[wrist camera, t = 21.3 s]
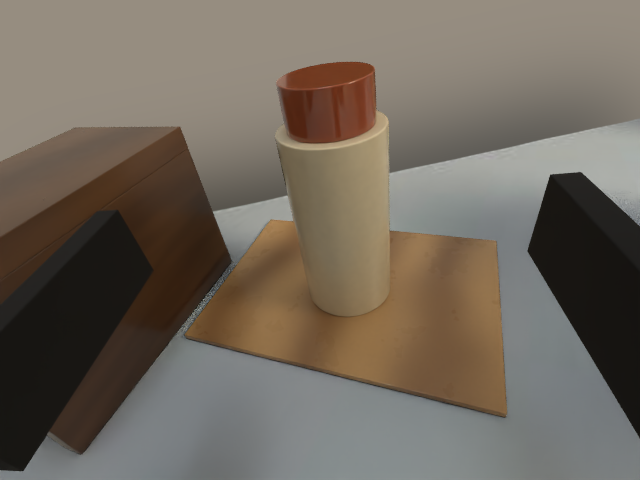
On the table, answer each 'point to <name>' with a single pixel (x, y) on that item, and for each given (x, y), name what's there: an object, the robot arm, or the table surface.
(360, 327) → the cork mat
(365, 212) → the spice bottle
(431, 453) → the table surface
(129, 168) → the shelf
